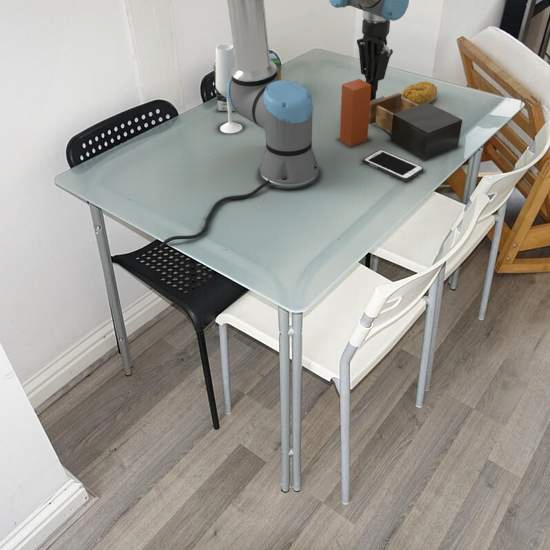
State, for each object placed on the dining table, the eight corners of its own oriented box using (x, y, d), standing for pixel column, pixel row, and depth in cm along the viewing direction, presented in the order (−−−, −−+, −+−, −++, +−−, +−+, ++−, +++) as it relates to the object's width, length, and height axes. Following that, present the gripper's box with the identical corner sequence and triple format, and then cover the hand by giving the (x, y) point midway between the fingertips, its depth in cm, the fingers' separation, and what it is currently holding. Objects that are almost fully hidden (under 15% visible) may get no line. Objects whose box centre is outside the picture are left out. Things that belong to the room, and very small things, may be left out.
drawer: (358, 118, 185) (359, 98, 181) (387, 107, 189) (389, 88, 185) (396, 139, 174) (398, 118, 170) (426, 128, 178) (429, 107, 174)
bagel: (406, 90, 200) (407, 76, 197) (439, 96, 196) (442, 81, 193) (396, 102, 194) (398, 88, 190) (431, 108, 190) (433, 94, 187)
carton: (350, 146, 173) (353, 90, 163) (339, 139, 177) (341, 84, 166) (367, 140, 176) (371, 84, 165) (356, 133, 179) (359, 78, 168)
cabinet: (390, 140, 175) (392, 114, 170) (423, 128, 180) (426, 101, 175) (424, 160, 167) (428, 132, 161) (457, 146, 172) (462, 119, 166)
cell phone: (405, 182, 158) (406, 179, 158) (361, 162, 167) (361, 159, 166) (424, 171, 162) (424, 167, 162) (379, 151, 170) (380, 148, 170)
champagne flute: (219, 133, 182) (211, 52, 166) (220, 123, 187) (212, 43, 171) (242, 132, 182) (236, 51, 166) (242, 122, 187) (236, 42, 171)
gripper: (403, 22, 168) (394, 104, 183) (371, 10, 176) (366, 89, 191) (381, 28, 165) (375, 111, 180) (350, 15, 173) (346, 96, 188)
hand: (370, 100), depth 186 cm, fingers closed
